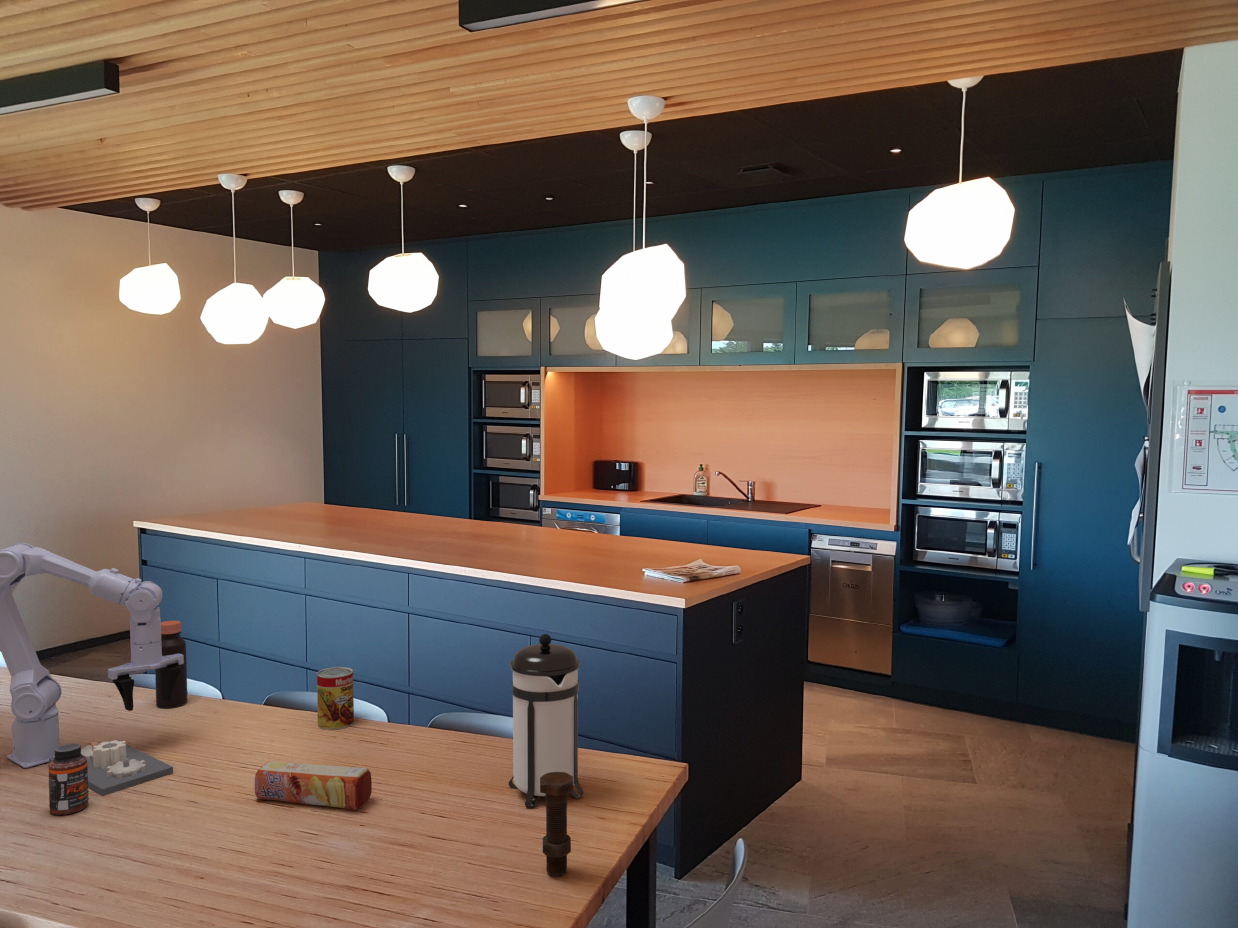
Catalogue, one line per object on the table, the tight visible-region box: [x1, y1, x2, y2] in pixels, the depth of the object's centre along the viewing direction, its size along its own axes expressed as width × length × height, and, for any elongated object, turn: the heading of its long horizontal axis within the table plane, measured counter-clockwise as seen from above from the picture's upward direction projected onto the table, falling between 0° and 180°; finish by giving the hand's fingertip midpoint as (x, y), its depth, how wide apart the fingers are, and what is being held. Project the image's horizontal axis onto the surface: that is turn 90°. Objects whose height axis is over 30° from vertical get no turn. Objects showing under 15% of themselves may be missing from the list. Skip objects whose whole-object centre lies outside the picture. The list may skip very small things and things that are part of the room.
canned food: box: [316, 666, 355, 731], centre depth 201 cm, size 8×8×12 cm
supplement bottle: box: [48, 742, 89, 816], centre depth 158 cm, size 6×6×11 cm
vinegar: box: [154, 620, 189, 709], centre depth 214 cm, size 7×7×20 cm
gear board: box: [48, 739, 174, 796], centre depth 176 cm, size 24×13×5 cm, turn 53°
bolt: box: [540, 772, 574, 878], centre depth 136 cm, size 6×5×15 cm
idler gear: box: [93, 739, 127, 769], centre depth 175 cm, size 6×6×4 cm
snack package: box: [254, 760, 373, 811], centre depth 162 cm, size 21×7×7 cm, turn 77°
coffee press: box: [508, 633, 585, 809], centre depth 165 cm, size 17×16×30 cm
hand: (148, 704), depth 186 cm, fingers open, 7 cm apart
